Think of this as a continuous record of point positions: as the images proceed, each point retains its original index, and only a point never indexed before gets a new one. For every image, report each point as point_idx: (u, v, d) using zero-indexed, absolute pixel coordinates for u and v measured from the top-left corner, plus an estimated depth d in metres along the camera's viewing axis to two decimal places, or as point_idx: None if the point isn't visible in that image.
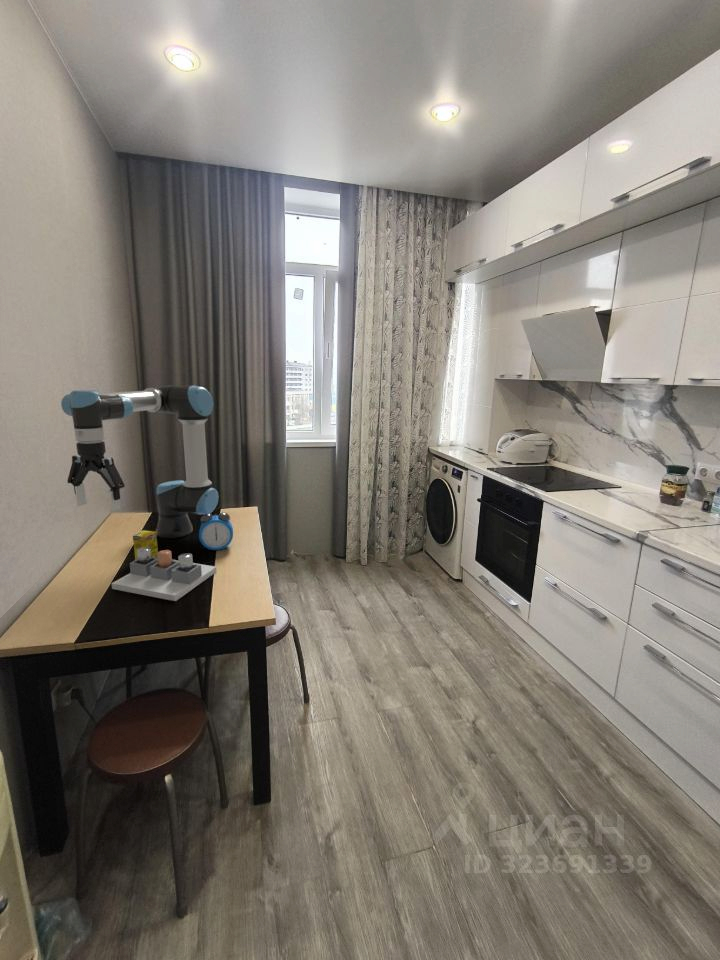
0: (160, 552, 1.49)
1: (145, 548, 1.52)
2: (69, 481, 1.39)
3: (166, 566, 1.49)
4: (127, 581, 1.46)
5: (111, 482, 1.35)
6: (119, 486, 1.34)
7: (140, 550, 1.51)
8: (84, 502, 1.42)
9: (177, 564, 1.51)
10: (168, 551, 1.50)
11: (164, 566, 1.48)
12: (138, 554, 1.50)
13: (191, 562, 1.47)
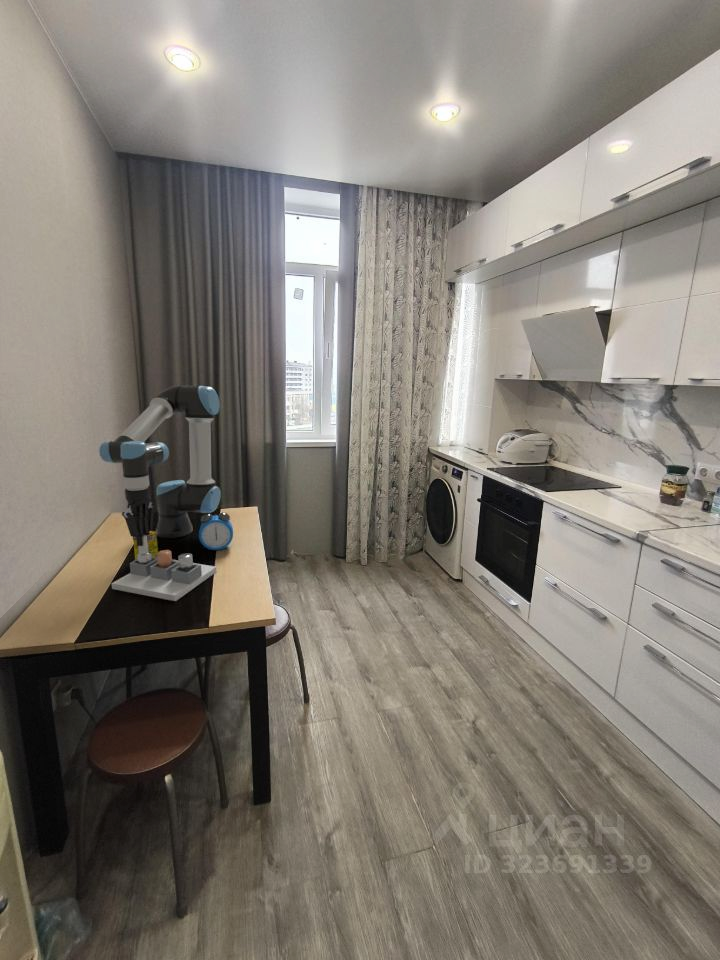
0: (160, 552, 1.49)
1: None
2: None
3: (166, 566, 1.49)
4: (127, 581, 1.46)
5: None
6: (131, 534, 1.47)
7: (141, 554, 1.51)
8: None
9: (177, 564, 1.51)
10: (168, 551, 1.50)
11: (164, 566, 1.48)
12: (138, 558, 1.50)
13: (191, 562, 1.47)
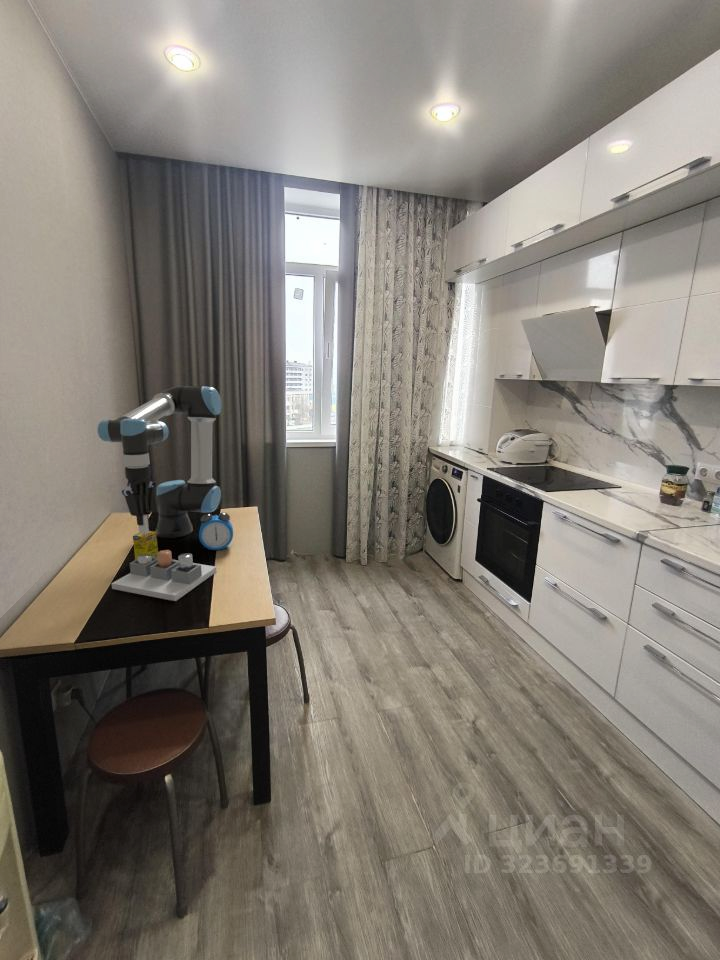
0: (160, 552, 1.49)
1: (146, 555, 1.53)
2: None
3: (166, 566, 1.49)
4: (127, 581, 1.46)
5: None
6: (131, 513, 1.44)
7: (141, 557, 1.51)
8: None
9: (177, 564, 1.51)
10: (168, 551, 1.50)
11: (164, 566, 1.48)
12: (139, 561, 1.51)
13: (191, 562, 1.47)
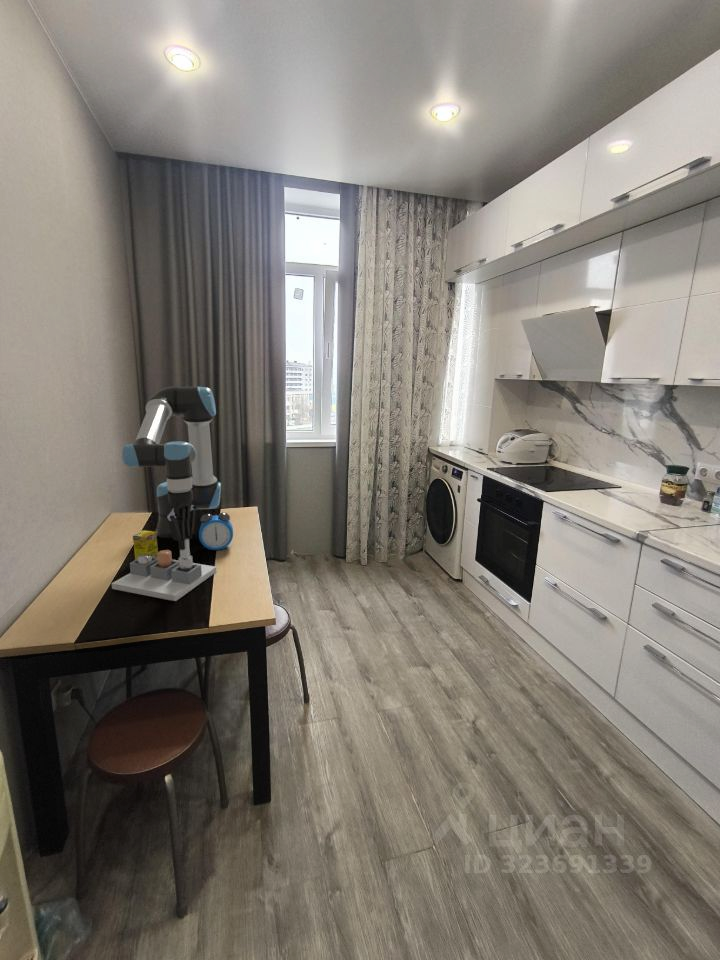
0: (160, 552, 1.49)
1: (146, 555, 1.53)
2: None
3: (166, 566, 1.49)
4: (127, 581, 1.46)
5: None
6: (174, 538, 1.42)
7: (141, 557, 1.51)
8: None
9: (177, 564, 1.51)
10: (168, 551, 1.50)
11: (164, 566, 1.48)
12: (139, 561, 1.51)
13: (191, 564, 1.47)
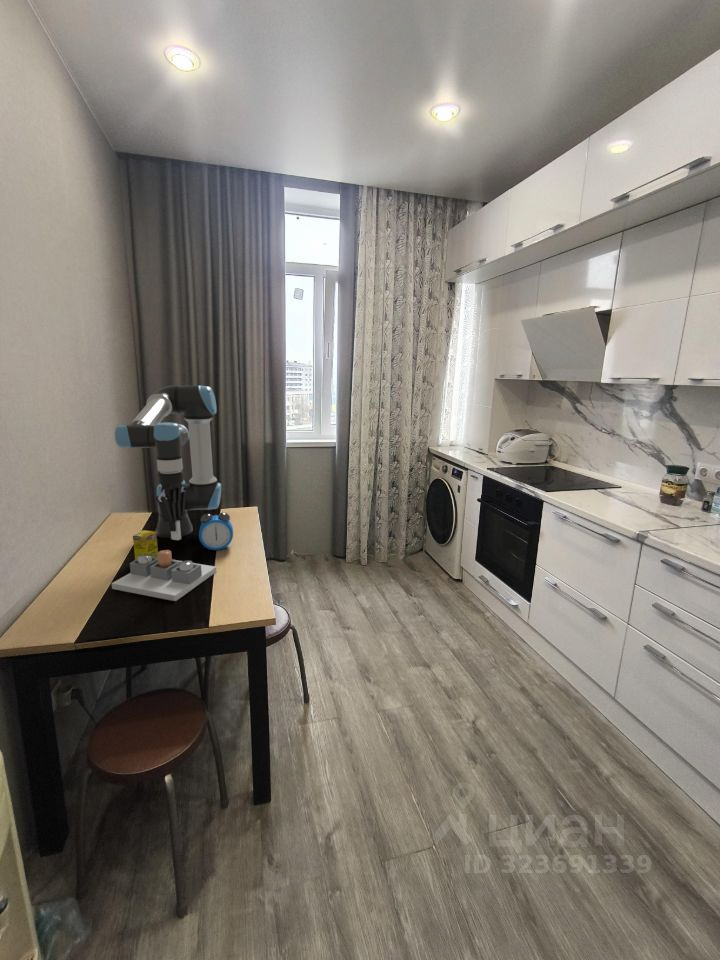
0: (160, 552, 1.49)
1: (146, 555, 1.53)
2: None
3: (166, 566, 1.49)
4: (127, 581, 1.46)
5: None
6: (165, 519, 1.42)
7: (141, 557, 1.51)
8: None
9: (177, 564, 1.51)
10: (168, 551, 1.50)
11: (164, 566, 1.48)
12: (139, 561, 1.51)
13: None
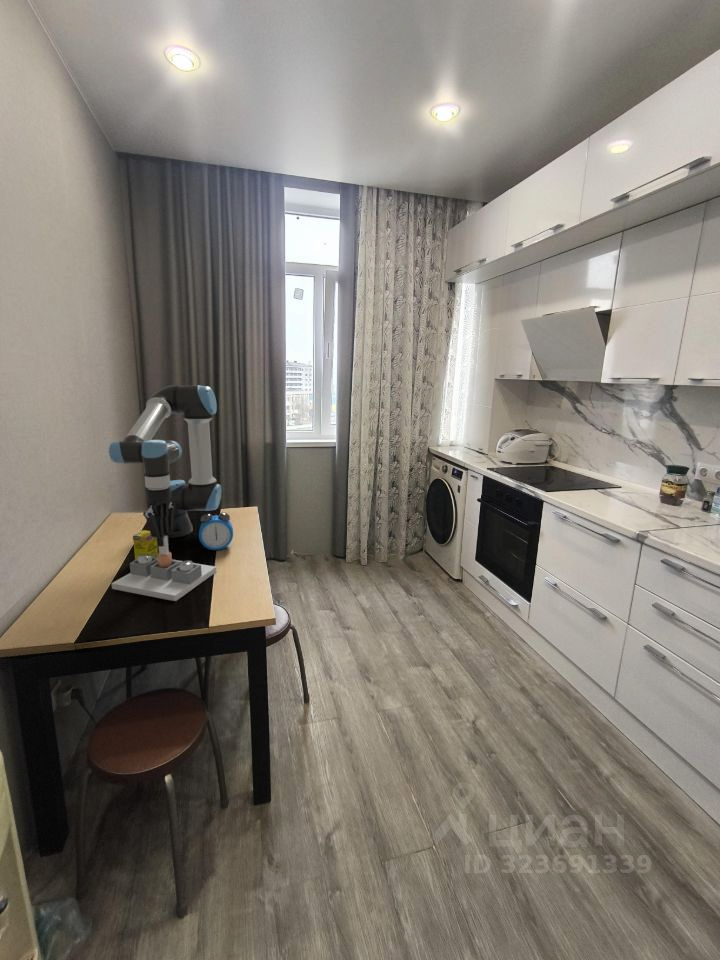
0: (160, 554, 1.49)
1: (146, 555, 1.53)
2: None
3: None
4: (127, 581, 1.46)
5: None
6: (152, 535, 1.44)
7: (141, 557, 1.51)
8: None
9: (177, 564, 1.51)
10: None
11: None
12: (139, 561, 1.51)
13: None
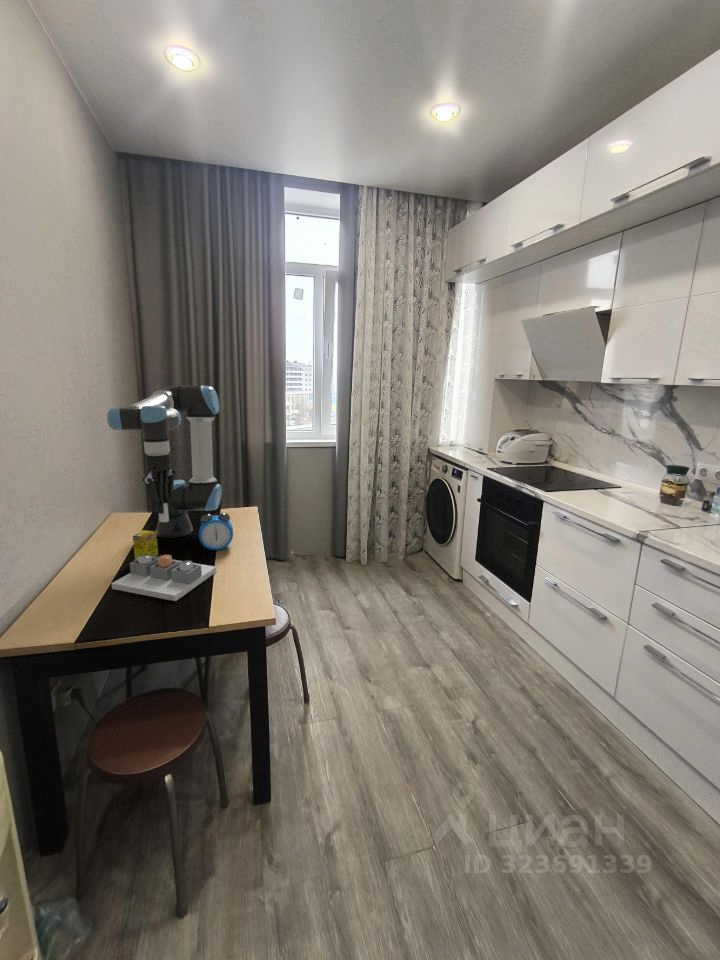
0: (160, 557, 1.50)
1: (146, 555, 1.53)
2: None
3: None
4: (127, 581, 1.46)
5: None
6: (152, 501, 1.43)
7: (141, 557, 1.51)
8: None
9: (177, 564, 1.51)
10: (168, 556, 1.51)
11: None
12: (139, 561, 1.51)
13: None
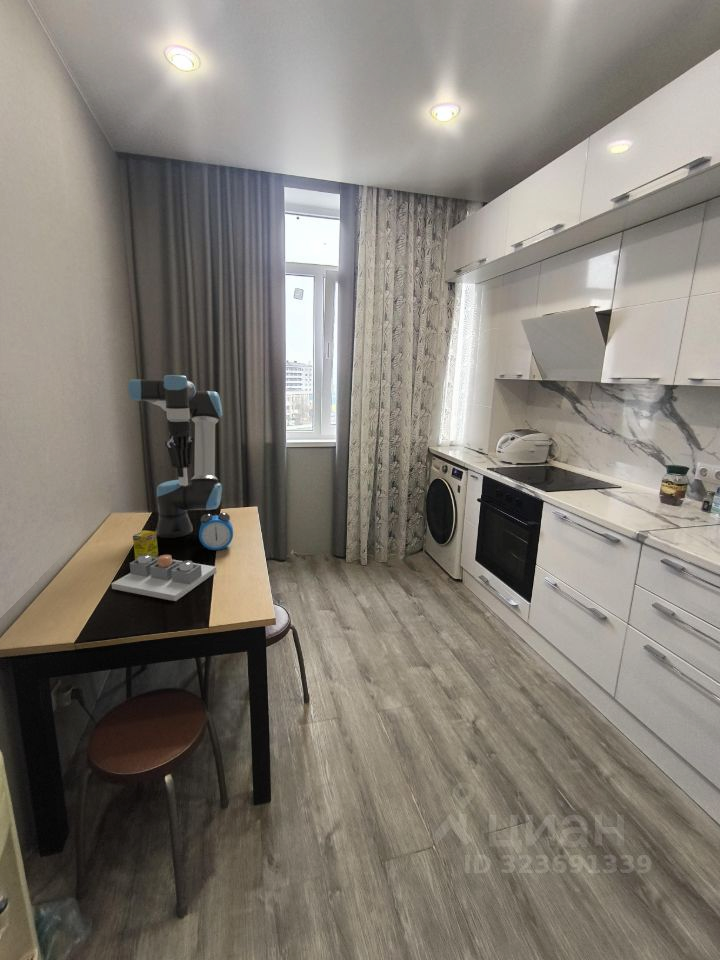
0: (160, 557, 1.50)
1: (146, 555, 1.53)
2: None
3: None
4: (127, 581, 1.46)
5: None
6: (173, 465, 1.54)
7: (141, 557, 1.51)
8: None
9: (177, 564, 1.51)
10: (168, 556, 1.51)
11: None
12: (139, 561, 1.51)
13: None
